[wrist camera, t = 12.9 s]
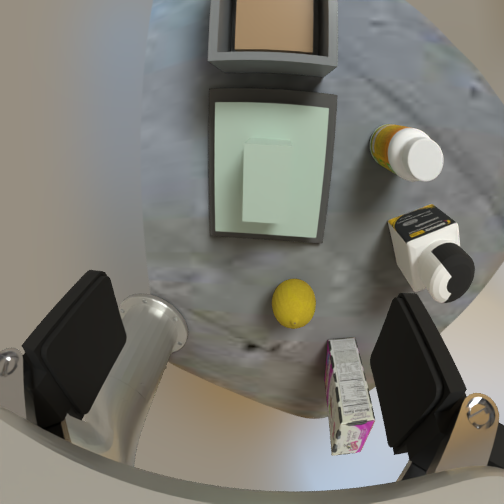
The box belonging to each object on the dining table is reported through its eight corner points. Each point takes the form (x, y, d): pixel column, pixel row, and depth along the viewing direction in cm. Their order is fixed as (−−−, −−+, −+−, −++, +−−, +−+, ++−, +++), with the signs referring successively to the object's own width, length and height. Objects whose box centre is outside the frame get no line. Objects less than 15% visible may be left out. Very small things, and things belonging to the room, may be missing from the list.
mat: (321, 240, 36) (322, 243, 35) (211, 233, 37) (210, 235, 36) (335, 95, 27) (337, 95, 27) (211, 89, 28) (209, 88, 28)
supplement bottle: (363, 159, 30) (392, 178, 22) (374, 117, 28) (409, 121, 19) (401, 173, 31) (439, 196, 22) (413, 133, 28) (455, 144, 19)
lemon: (321, 283, 39) (328, 322, 32) (293, 307, 41) (294, 346, 34) (292, 260, 37) (294, 296, 30) (264, 285, 40) (260, 324, 33)
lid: (314, 230, 34) (322, 264, 27) (219, 224, 35) (203, 255, 28) (325, 108, 28) (341, 107, 20) (219, 102, 28) (199, 100, 21)
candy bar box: (349, 376, 48) (361, 452, 33) (323, 379, 48) (329, 456, 34) (357, 335, 43) (377, 421, 28) (327, 337, 43) (338, 426, 29)
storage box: (323, 77, 27) (337, 66, 19) (224, 72, 27) (207, 60, 20) (323, -22, 20) (334, -52, 13) (229, -25, 21) (215, -56, 14)
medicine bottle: (432, 202, 32) (482, 242, 21) (438, 247, 34) (480, 296, 24) (386, 219, 34) (425, 267, 23) (396, 264, 36) (429, 320, 26)
